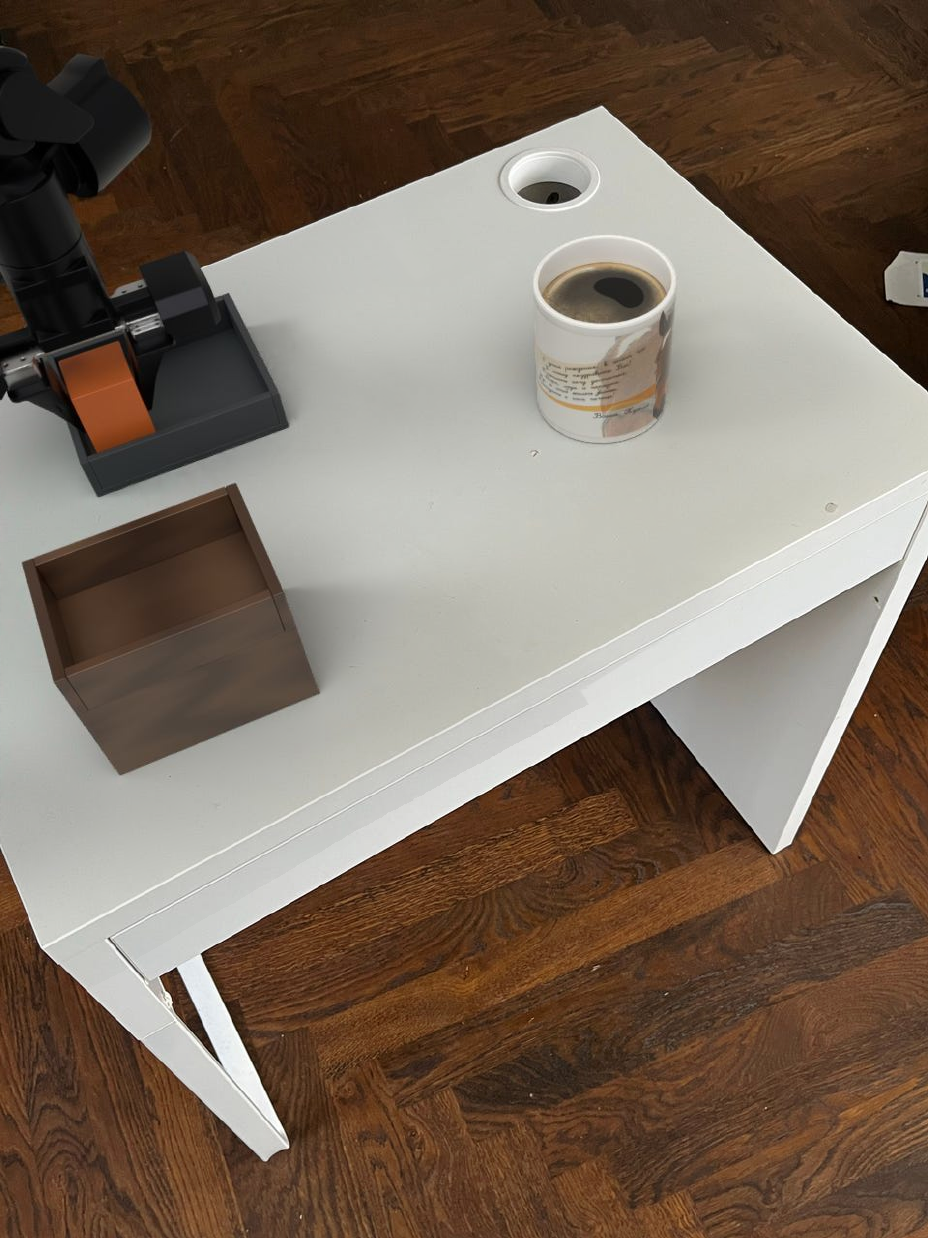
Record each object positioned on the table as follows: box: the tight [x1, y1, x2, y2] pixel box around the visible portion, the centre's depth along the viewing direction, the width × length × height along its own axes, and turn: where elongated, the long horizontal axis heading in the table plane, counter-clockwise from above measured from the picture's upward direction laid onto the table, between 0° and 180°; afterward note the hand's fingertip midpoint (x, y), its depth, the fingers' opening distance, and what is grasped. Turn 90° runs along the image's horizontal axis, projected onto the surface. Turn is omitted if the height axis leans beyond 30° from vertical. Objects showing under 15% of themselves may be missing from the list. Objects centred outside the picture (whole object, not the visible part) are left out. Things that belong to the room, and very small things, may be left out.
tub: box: [46, 292, 290, 498], centre depth 89 cm, size 15×13×4 cm
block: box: [58, 341, 156, 453], centre depth 84 cm, size 4×4×6 cm
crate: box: [21, 482, 320, 776], centre depth 71 cm, size 13×9×11 cm
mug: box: [531, 234, 678, 444], centre depth 83 cm, size 10×12×11 cm
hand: (117, 417), depth 85 cm, fingers closed on block, 4 cm apart
